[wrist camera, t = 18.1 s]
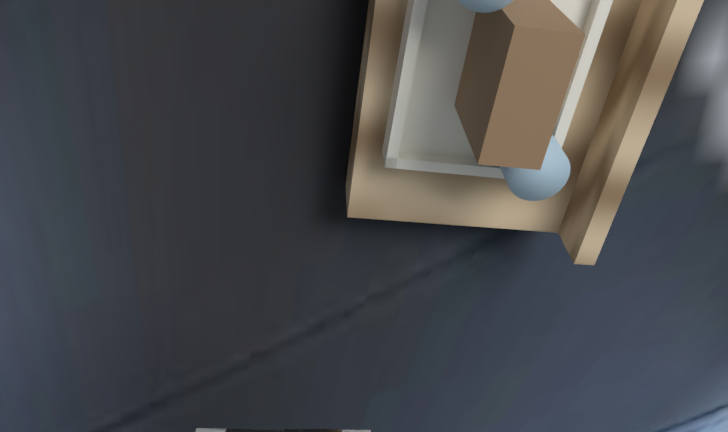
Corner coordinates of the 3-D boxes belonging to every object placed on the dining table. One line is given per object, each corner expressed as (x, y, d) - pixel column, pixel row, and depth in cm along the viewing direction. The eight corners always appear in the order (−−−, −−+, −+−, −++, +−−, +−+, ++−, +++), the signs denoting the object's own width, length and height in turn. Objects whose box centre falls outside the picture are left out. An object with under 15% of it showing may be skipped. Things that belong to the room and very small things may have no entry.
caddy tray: (540, 166, 36) (581, 240, 30) (382, 150, 35) (393, 224, 29) (623, -85, 28) (699, -52, 23) (427, -114, 27) (455, -87, 22)
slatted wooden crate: (559, 202, 41) (594, 265, 36) (345, 185, 40) (348, 248, 34) (699, -198, 29) (783, -194, 24) (399, -245, 28) (417, -251, 22)
